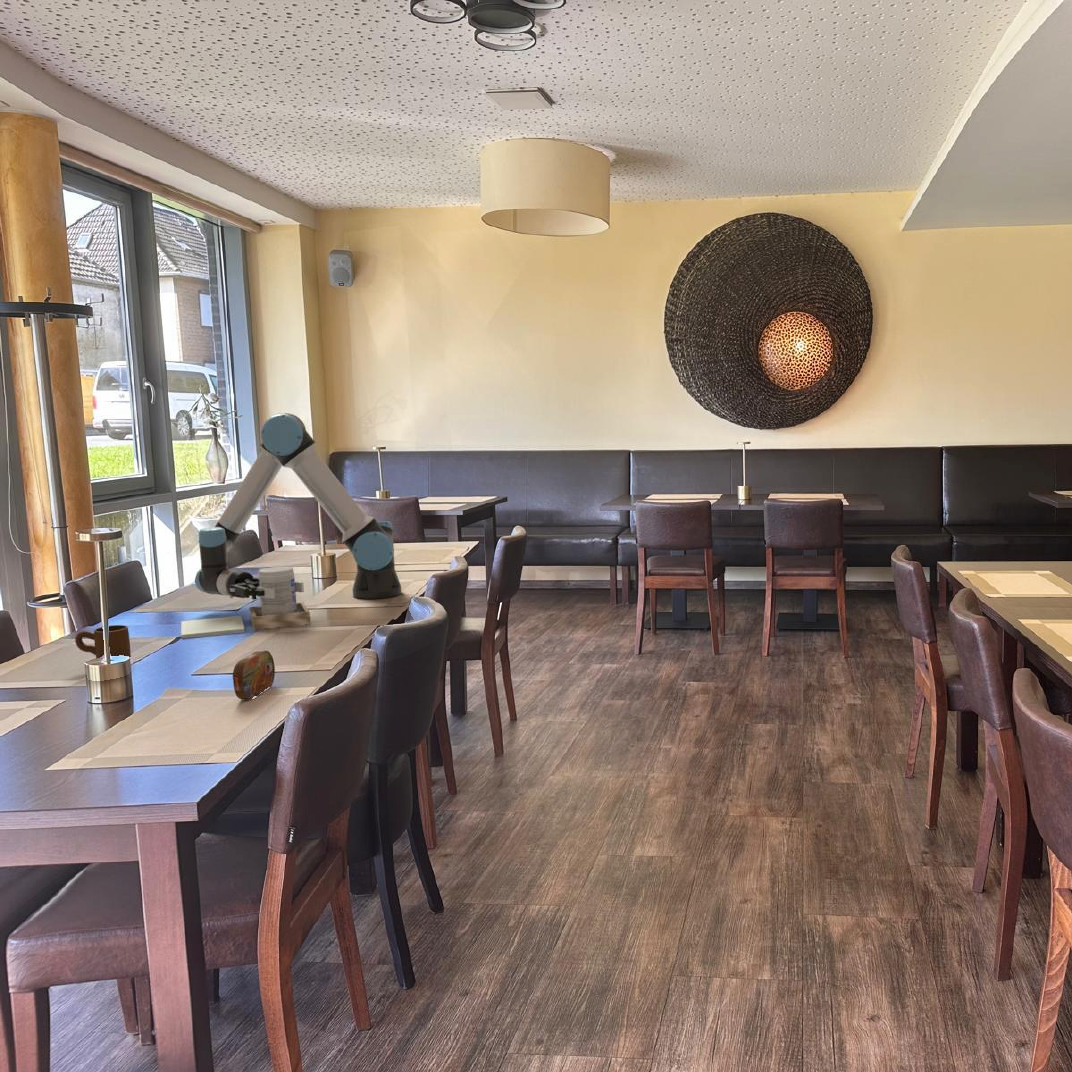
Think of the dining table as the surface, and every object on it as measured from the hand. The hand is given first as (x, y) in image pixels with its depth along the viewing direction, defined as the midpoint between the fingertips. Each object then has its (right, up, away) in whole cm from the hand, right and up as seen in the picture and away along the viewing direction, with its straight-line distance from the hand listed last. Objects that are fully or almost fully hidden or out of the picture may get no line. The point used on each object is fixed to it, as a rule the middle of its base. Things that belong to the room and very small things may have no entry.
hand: (288, 590), depth 282 cm
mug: (-33, -16, -41) cm, 55 cm away
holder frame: (-3, -9, +4) cm, 10 cm away
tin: (+9, -18, -66) cm, 69 cm away
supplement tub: (-3, -9, +4) cm, 10 cm away
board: (-20, -10, -2) cm, 23 cm away
